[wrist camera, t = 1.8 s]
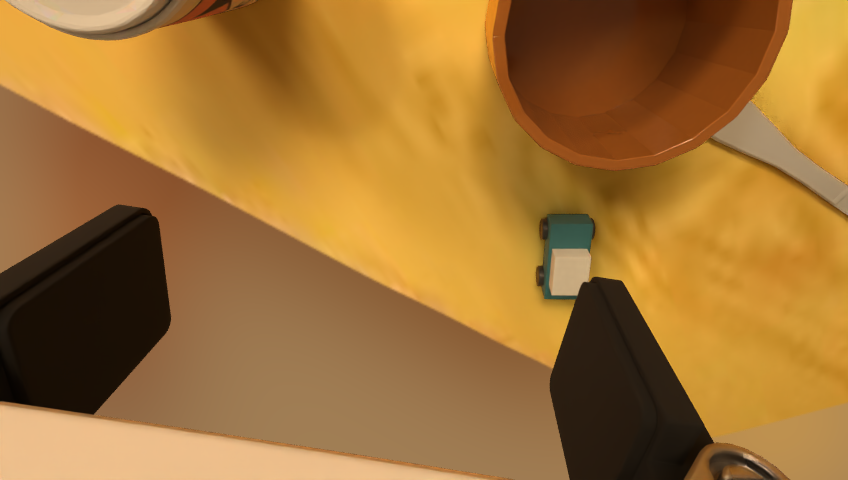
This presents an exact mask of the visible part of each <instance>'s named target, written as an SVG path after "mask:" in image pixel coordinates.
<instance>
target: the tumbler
mask: <svg viewBox="0 0 848 480" xmlns="http://www.w3.org/2000/svg"><path fill="white" fill-rule="evenodd" d="M792 3H793V0H489V3H488V8H487V14H486V21H485V31H486V42H487V48H488V57H489V60H490V63H491V66H492V69H493V71H494V74H495V77H496V80H497V83H498V85H499V87H500V89H501V92H502V94H503V96H504V98H505V100H506V103H507V105H508V107H509V109H510V111H511V114H512V116H513V118H514V119H515V121H516V122H517V123H518V124H519V125H520V126H521V127H522V128H523V129H524V130H525V131H526V132H527V133H528V134H529V135H530V137H531V138H532V139H533V140H534V141H535V142H536V143H537V144H538V145H539V146H540V147H542V148H543V149H545V150H547V151H549V152H551V153H553V154H555V155H557V156H559V157H561V158H562V159H564V160H566V161H568V162H570V163H572V164H575V165H578V166H585V167H591V168H598V169H604V170H611V171H618V170H626V169H633V168H640V167H647V166H654V165H658V164H660V163H662V162H665V161H667V160H669V159H672V158H674V157H676V156H679V155H681V154H683V153H686V152H688V151H690V150H693V149H695V148H697V147H698V146H700V145H701V144H703V143H704V142H705V141H706V140H708V139H709V138H710V137H712V136H713V135H714V134H716V133H717V132H718V131H720V130H721V129H722V128H723V127H725V126H726V125H727V124H729V123H730V122H731V121H733V120H734V119H735V118H736V117H737V116H738V115H739V114H740V112H741V111H742V110H743V109H744V107H745V106H746V105H747V104H748V102H749V101H750V100H751V99H752V97H753V96H754V95H755V94H756V92H757V91H758V90H759V89H760V87H761V86H762V85H763V83H764V82H765V81H766V80H767V78H768V76H769V74H770V71H771V69H772V67H773V65H774V62H775V60H776V58H777V56H778V53H779V51H780V49H781V47H782V45H783V42H784V40H785V38H786V36H787V33H788V30H789V24H790V17H791V10H792Z"/></svg>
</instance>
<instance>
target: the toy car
mask: <svg viewBox="0 0 848 480" xmlns="http://www.w3.org/2000/svg"><path fill="white" fill-rule="evenodd" d="M594 235H595V223H594V220H593V219H592V218H590V217H589V215H588V214H548V215H547V218H542V219H541V220H540V238H541V239H542V240H545V248H544V260H543V266H537V269H536V282H537V286H541V287H542V291H543V295H544V299H576V298H577V295H578V292H579V289H580V287H581V284H582V283H583V282H588V280H589V273H590V265H591V256H590V247H591V240H592V239H593V238H594Z"/></svg>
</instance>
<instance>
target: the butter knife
mask: <svg viewBox="0 0 848 480" xmlns="http://www.w3.org/2000/svg"><path fill="white" fill-rule="evenodd" d="M711 138H713V139H714V140H715V141H717V142H720V143H722V144H724V145H726V146H729V147H731V148H733V149H735V150H737V151H740V152H742V153H744V154H746V155H749V156H751V157H753V158H756V159H758V160H761V161H763V162H765V163H768V164H770V165H772V166H775V167H776V168H778V169H780V170H781V171H783V172H784V173H786V174H788V175H789V176H791V177H793V178H794V179H796V180H798V181H799V182H801V183H802V184H804V185H805V186H807V187H808V188H809V189H811V190H812V191H813V192H815V193H816V194H818V195H819V196H820V197H822V198H823V199H825V200H826V201H828V202H829V203H830V204H832V205H833V206H835V207H836V208H838V209H839V210H841V211H842V212H844V213H845V214H846V215H848V185H846V184H845V183H843V182H842V181H840V180H839V179H837V178H836V177H834V176H833V175H831V174H830V173H828V172H827V171H825V170H824V169H822V168H821V167H819V166H818V165H817V164H816V163H814V162H813V161H812V160H810V159H809V158H808V157H806V156H805V155H804V154H803V153H801V152H800V151H799V150H797V149H796V148H795V147H794V146H793V145H792V144H791V143H790V142H789V141H788V140H787V139H786V138H785V136H784V135H783V134H782V133H781V132H780V131H779V130H778V129H777V128H776V127H775V126H774V124H773V123H772V122H771V121H770V120H769V119H768V118H767V117H766V116H765V115H764V114H763V113H762V112H761V111H760V110H759V109H758V108H757V107H756V106H755V105H754V104H753V103H752V102H751V101H749V102H748V104H747V105H746V106H745V107H744V109H743V110H742V111H741V112H740V114H739V115H738V116H737V117H736V118H735V119H734V120H733V121H731V122H730V123H729V124H727V125H726V126H725V127H723V128H722V129H721V130H720V131H718V132H717V133H716V134H714V135H713V136H712V137H711Z"/></svg>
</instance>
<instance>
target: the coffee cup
mask: <svg viewBox="0 0 848 480" xmlns="http://www.w3.org/2000/svg"><path fill="white" fill-rule="evenodd" d="M5 1H7V2H8V3H9V4H11V5H12V6H13V7H15V8H17V9H18V10H20V11H22V12H23V13H25V14H27V15H29V16H31V17H32V18H34V19H36V20H38V21H40V22H42V23H44V24H46V25H47V26H49V27H51V28H54V29H56V30H59V31H61V32H64V33H67V34H70V35H73V36H77V37H82V38H87V39H93V40H122V39H127V38H132V37H136V36H139V35H142V34H145V33H148V32H150V31H152V30H154V29H156V28H161V27H165V26H169V25H174V24H178V23H182V22H187V21H191V20H195V19H199V18H203V17H207V16H211V15H215V14H219V13H223V12H227V11H231V10H234V9H238V8H241V7H244V6H247V5H249V4H251V3H254V2H256V1H257V0H5Z"/></svg>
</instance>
